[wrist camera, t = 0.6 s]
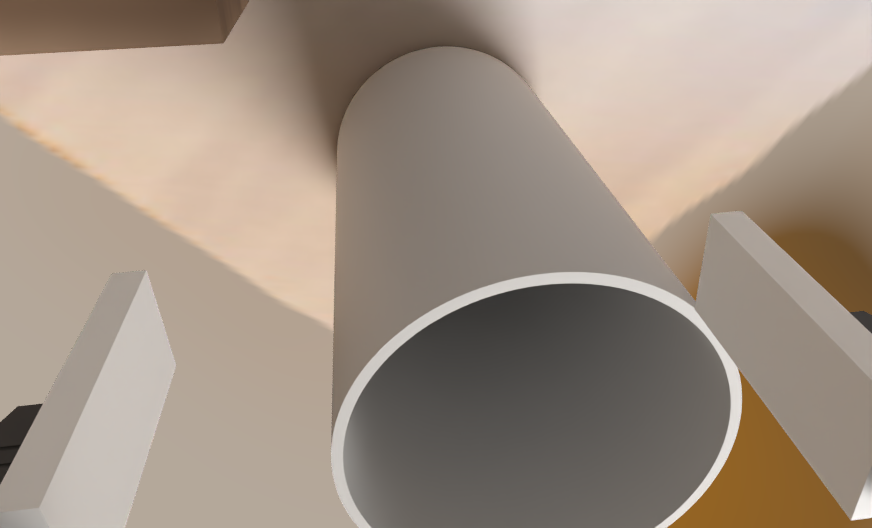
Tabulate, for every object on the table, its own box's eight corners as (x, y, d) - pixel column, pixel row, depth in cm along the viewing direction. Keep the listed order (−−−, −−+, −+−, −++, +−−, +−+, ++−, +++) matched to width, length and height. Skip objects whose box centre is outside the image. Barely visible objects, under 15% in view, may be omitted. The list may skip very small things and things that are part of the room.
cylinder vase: (294, 162, 42) (244, 487, 21) (432, -6, 38) (545, 181, 17) (449, 272, 47) (536, 624, 26) (585, 134, 44) (819, 413, 22)
